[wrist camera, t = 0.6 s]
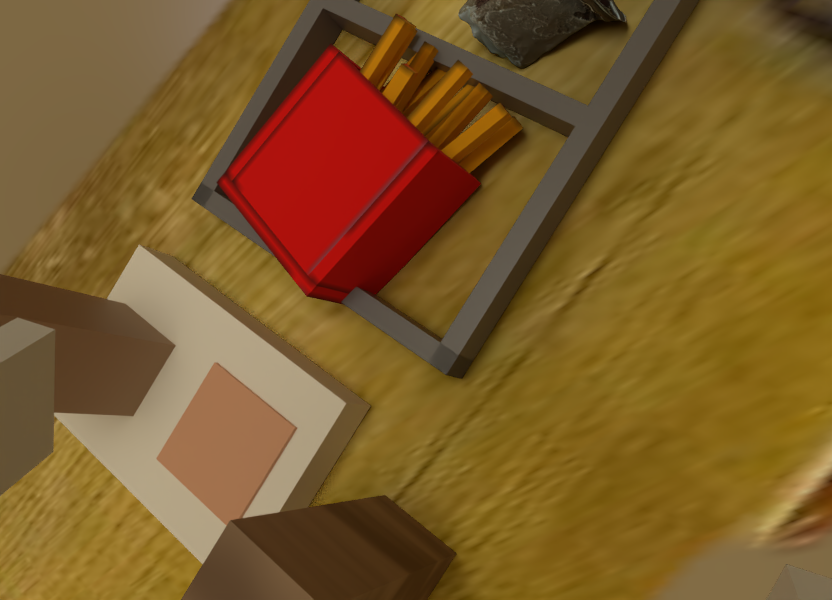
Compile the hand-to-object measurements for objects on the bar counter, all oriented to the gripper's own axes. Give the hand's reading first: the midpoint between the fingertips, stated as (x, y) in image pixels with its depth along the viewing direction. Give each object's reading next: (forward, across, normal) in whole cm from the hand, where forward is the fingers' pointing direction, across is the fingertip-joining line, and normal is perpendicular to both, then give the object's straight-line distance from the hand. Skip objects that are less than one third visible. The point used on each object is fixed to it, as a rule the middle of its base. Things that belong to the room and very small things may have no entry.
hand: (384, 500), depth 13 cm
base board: (+26, -14, -19) cm, 35 cm away
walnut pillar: (+20, 0, -20) cm, 28 cm away
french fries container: (+32, -7, -3) cm, 33 cm away
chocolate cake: (+36, -3, +9) cm, 38 cm away
